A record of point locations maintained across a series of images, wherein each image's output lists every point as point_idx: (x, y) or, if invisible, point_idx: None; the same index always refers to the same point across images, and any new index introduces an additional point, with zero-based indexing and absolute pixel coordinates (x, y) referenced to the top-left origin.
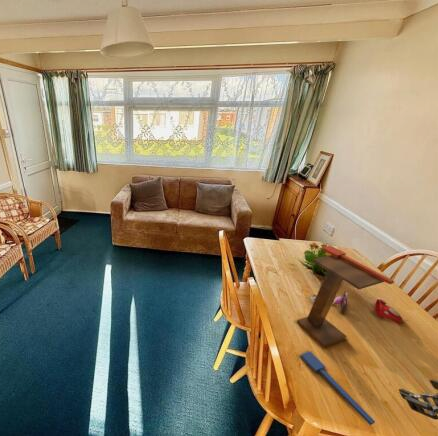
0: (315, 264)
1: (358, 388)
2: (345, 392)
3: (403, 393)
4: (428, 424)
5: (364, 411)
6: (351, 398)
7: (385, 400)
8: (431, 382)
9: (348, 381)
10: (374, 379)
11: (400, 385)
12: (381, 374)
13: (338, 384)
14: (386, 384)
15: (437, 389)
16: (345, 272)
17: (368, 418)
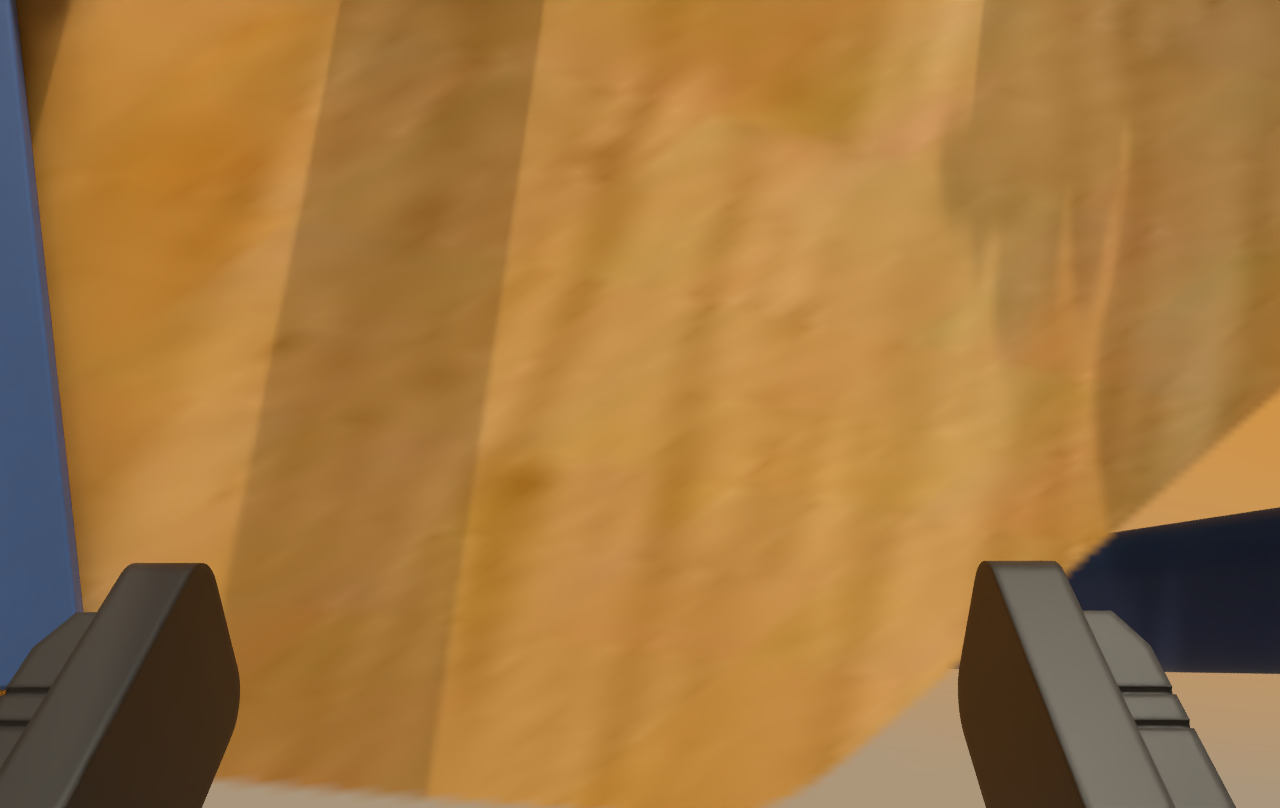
0: None
1: (329, 284)
2: (20, 290)
3: (30, 703)
4: (787, 758)
5: (53, 545)
6: (32, 372)
7: (545, 467)
8: (979, 611)
9: (276, 185)
10: (658, 243)
11: (897, 362)
12: (802, 216)
13: (26, 181)
14: (746, 320)
15: (971, 753)
16: None
17: (13, 630)
